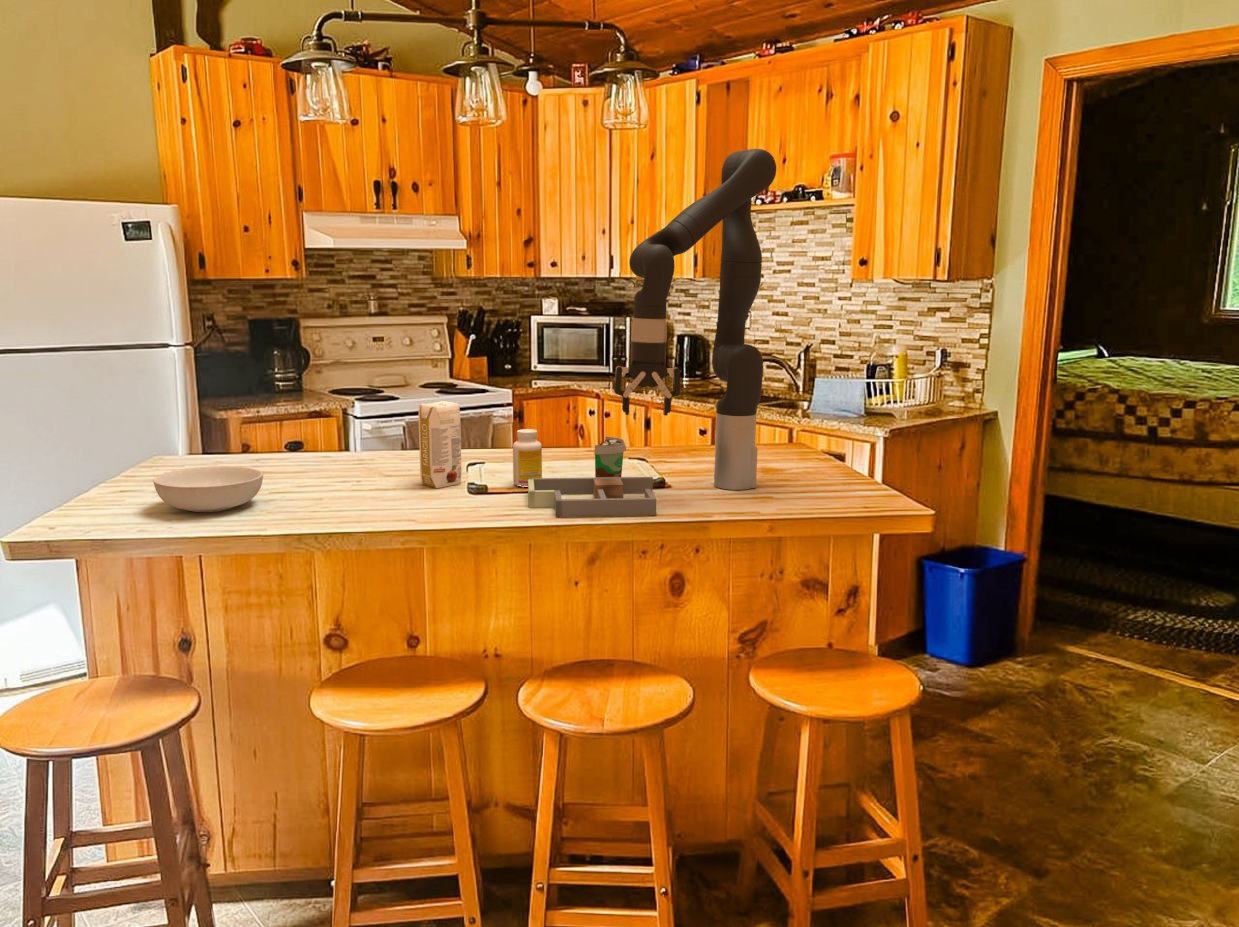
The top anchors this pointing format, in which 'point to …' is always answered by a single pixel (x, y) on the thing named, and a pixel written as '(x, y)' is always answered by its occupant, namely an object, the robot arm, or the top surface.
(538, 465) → the supplement bottle
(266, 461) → the top surface
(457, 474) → the juice carton
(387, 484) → the top surface
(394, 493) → the top surface
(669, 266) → the robot arm
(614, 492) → the walnut block
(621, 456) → the food container
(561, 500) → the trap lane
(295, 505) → the top surface
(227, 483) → the serving bowl
